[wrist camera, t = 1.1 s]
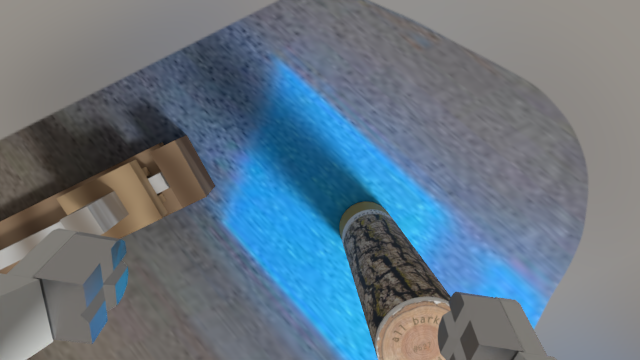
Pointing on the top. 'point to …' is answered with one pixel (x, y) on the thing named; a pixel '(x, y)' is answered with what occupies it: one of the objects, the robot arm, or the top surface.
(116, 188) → the carriage
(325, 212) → the top surface
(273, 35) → the top surface
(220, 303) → the top surface
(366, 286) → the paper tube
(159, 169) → the rail track
